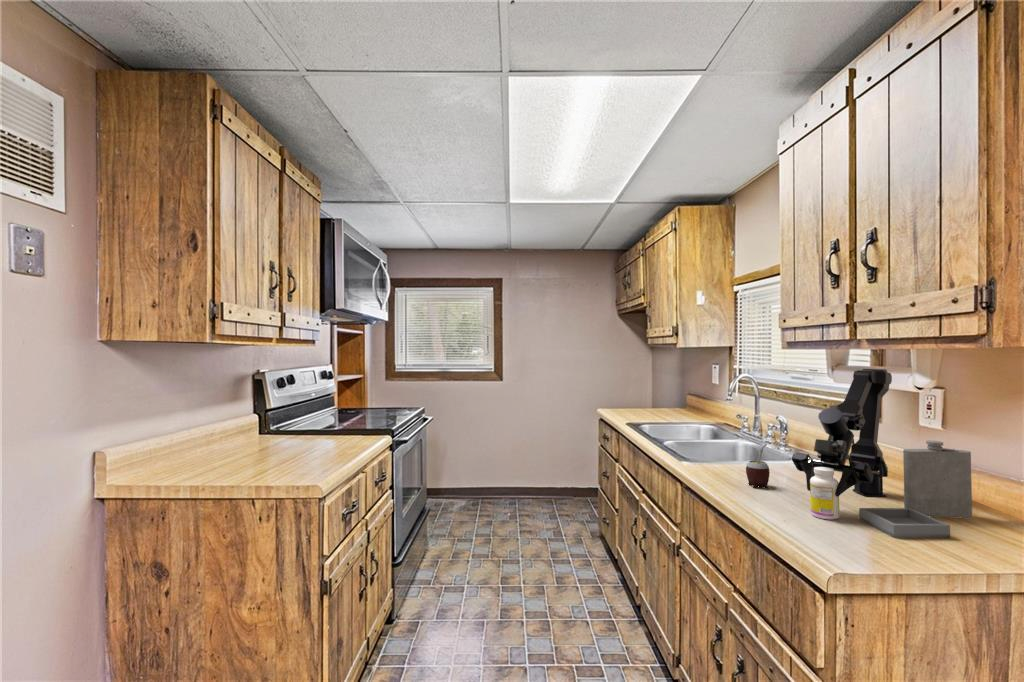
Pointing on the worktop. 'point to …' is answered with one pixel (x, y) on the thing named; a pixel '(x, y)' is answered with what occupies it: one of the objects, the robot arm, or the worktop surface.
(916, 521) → the tray
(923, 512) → the hip flask
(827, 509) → the supplement bottle
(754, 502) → the worktop surface
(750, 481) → the mate gourd
